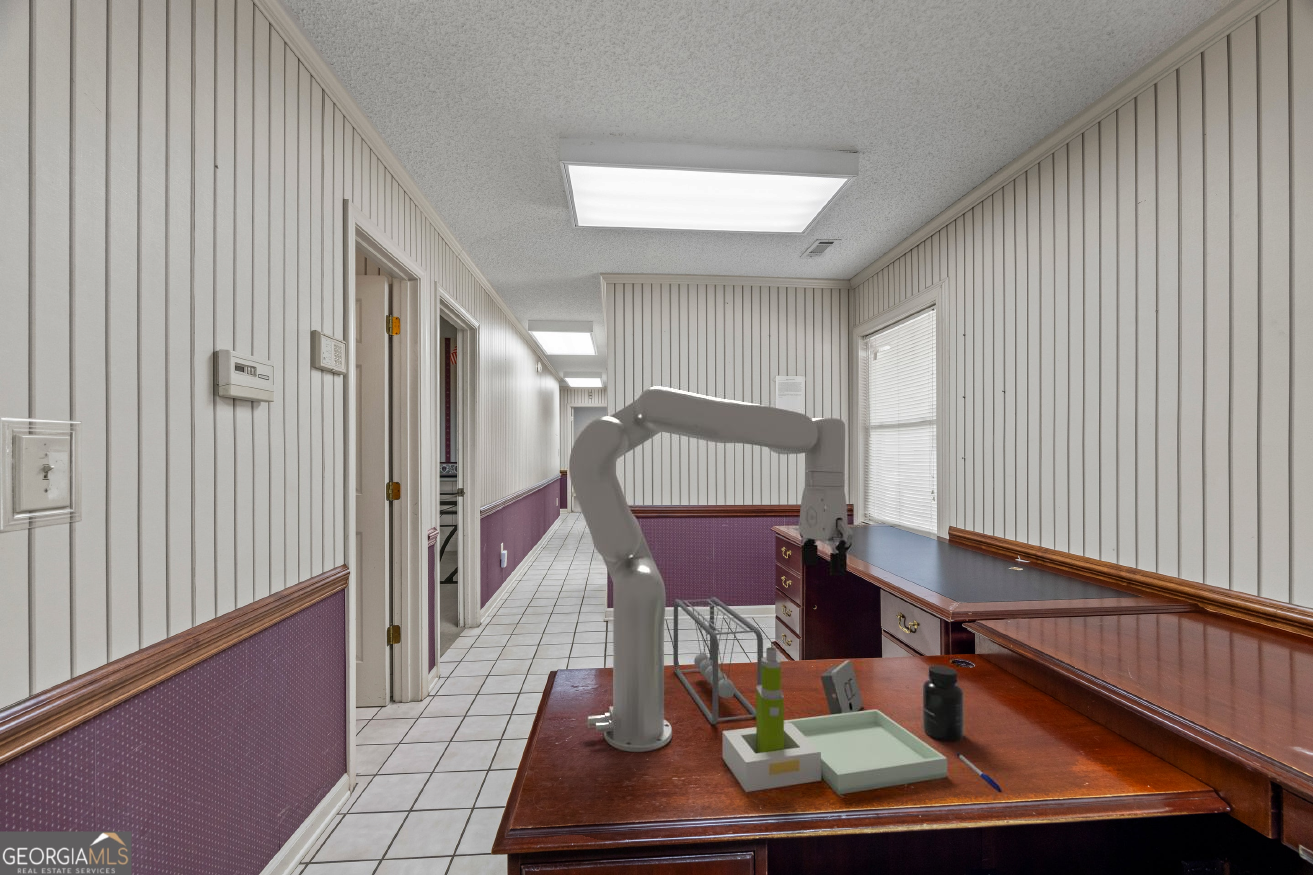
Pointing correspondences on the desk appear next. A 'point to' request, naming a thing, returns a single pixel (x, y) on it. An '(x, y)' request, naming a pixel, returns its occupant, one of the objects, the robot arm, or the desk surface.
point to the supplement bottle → (943, 705)
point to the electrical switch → (842, 689)
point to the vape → (770, 705)
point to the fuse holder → (771, 759)
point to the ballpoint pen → (980, 773)
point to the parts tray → (869, 751)
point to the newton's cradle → (715, 657)
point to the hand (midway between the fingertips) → (823, 569)
